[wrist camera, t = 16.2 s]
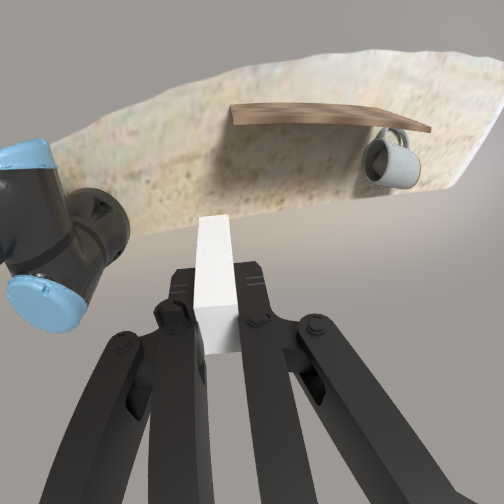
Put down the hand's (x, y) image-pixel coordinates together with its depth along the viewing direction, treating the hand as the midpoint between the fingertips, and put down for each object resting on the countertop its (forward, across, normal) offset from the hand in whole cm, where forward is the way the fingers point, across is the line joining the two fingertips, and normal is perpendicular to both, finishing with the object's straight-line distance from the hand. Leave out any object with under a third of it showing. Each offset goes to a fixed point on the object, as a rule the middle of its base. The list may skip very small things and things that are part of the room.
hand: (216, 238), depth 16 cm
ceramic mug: (+31, -29, +4) cm, 42 cm away
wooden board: (+31, -14, -4) cm, 34 cm away
